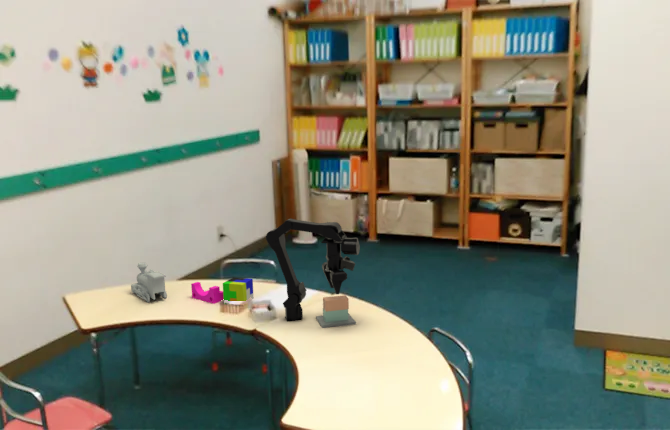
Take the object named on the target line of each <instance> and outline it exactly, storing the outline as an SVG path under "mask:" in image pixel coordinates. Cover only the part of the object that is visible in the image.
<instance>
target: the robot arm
mask: <svg viewBox="0 0 670 430" xmlns="http://www.w3.org/2000/svg"><path fill="white" fill-rule="evenodd" d="M290 230H292V231H298V232H306V233H312V234H317V235H320V236H322V237H324V239H323V240H321V243H320V244H326V255H325V259H326V261H325V262H323V263H322V264H321V269H322V271H323V273H324V276H325V278H326V280H327V282H328V284H329V287H330V288H331V289H334V292H335V294H336V295H339V294H340V292H341V288H342V287H341V286H342V284H343V282H345V281H346V280H348V273H347V272H345V270H344V269H346V270H349V271H351V272H353V271H354V268H355V266H356V263H355V261H352V260H351V259H350V256H351V255H352V256H354V255H355V256H358V255H359V254H360V248H361V246H360V241H359V238H358V237H347V235H346V234H345V232H344V231H343V230H342V226H341V224H340V223H339V222H336V221H329V222H328V221H327V222H315V221H307V220H302V219H301V220H300V219H294V218H288V219H287V220H285V221H284V222H283V223H282V224H280V225H279V226H278V227H275V228H273V229H272V230H270V231H267V233H266V235H265V241H266V242H267V244H268V245H269V247H270V248H271V250H273V253H275V255H276V259H277V261H278V263H279V267H280V270H281V272H282V275H283V278H284V279H285V283H286V294H287V299H286V300H284V301H283V303H282V305H283V307H284V311H285V312H284V313H285V315H284V319H285V321H286V322H287V323H288V322H290V323H291V322H299V321H303V308H302V304H301V303H302V301H303V300H304V299H305V297H307V296H306V295H307V288H306V286H305V283H304V281H301V282H300V281H299V279H298V278H297V276H296V272H295V271H294V268H293V264H292V262H291V259H290V256H289V254H288V251H287V249H286V236H285V235H286V234H288V232H290ZM342 254H343V255H350V256H349V257H348V256H344V257H343V256H342Z"/></svg>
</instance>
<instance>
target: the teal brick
mask: <svg viewBox="0 0 670 430" xmlns="http://www.w3.org/2000/svg"><path fill="white" fill-rule="evenodd" d="M348 313H349V309H345V310H336V311H327V312H326V311H325V310H324V308H323V307H322V315H323V319H324V321H325V322H332V321H341V320H348Z"/></svg>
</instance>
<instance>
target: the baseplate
mask: <svg viewBox="0 0 670 430" xmlns="http://www.w3.org/2000/svg"><path fill="white" fill-rule="evenodd" d="M315 319H316V321H317V322H318V325H319V326H321V328H322V329H326V328H327V329H328V328H334V327H344V326H353V325H357V322H356V320H355V319H354V318H353V316H352V315H351V314H350V313H349V312H348V320H341V321H332V322H325V321H324V319H323V314H322V315H315Z"/></svg>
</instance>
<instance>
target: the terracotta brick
mask: <svg viewBox="0 0 670 430" xmlns="http://www.w3.org/2000/svg"><path fill="white" fill-rule="evenodd" d="M349 303H350V301H349V298H348V296H347V295H345V294H343V295H335V296H324V297H323V296H322V309H323V308H324V310H325V311H326V312H327V311H336V310H345V309H348V310H349V309H350V308H349V306H350V305H349Z"/></svg>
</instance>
